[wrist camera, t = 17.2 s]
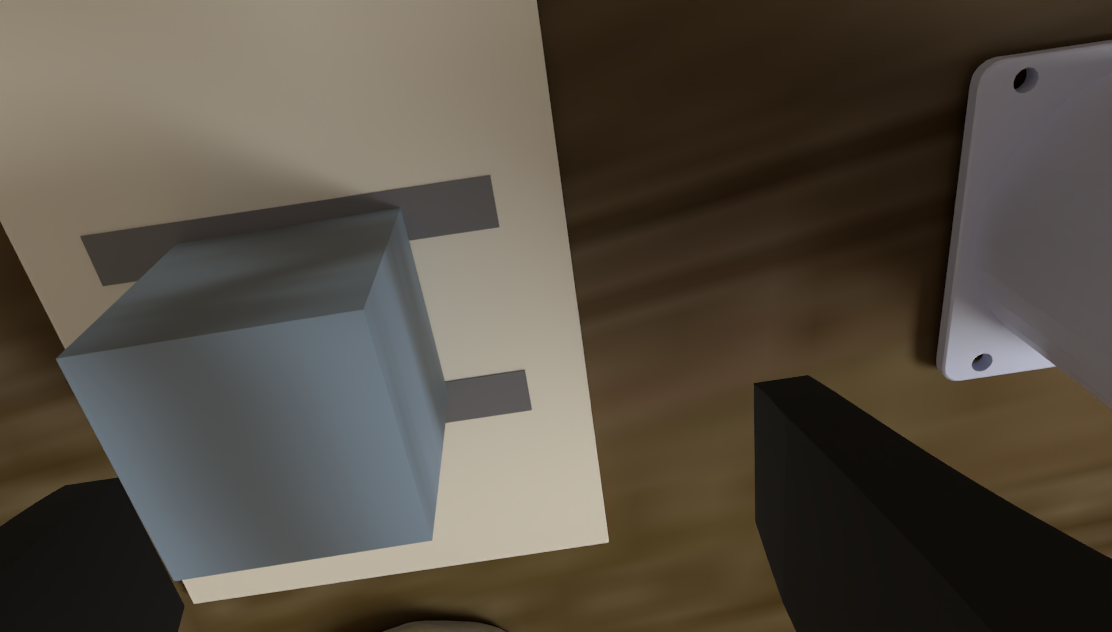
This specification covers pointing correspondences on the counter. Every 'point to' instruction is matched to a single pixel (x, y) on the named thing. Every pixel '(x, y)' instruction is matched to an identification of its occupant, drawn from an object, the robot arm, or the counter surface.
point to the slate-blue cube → (271, 396)
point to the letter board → (326, 212)
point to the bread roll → (445, 627)
